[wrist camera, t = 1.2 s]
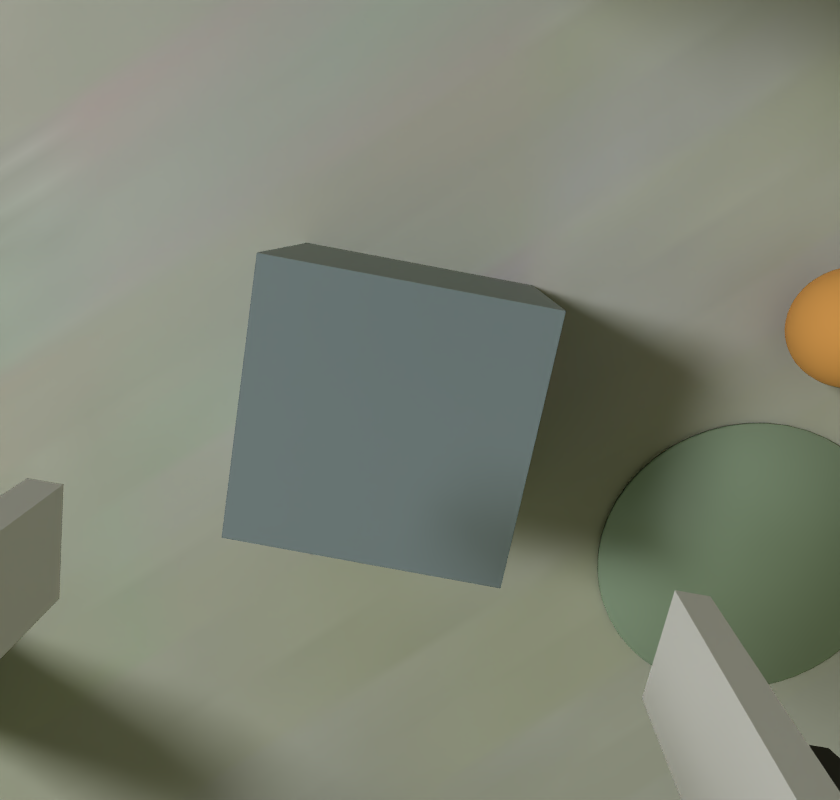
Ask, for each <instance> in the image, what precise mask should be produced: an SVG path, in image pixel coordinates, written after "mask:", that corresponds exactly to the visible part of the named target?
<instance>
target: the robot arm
mask: <svg viewBox="0 0 840 800" xmlns="http://www.w3.org/2000/svg"><path fill="white" fill-rule="evenodd" d="M62 509H63V484H58V483H53V482H47V481H41V480H35V479H29V478H27V479H25V480H24V481H22V482H21V483H19V484H18V485H16V486H15V487H13V488H12V489H10V490H9V491H7V492H6V493H4V494H3V495H1V496H0V659H1V658H2V657H3V656H4V655H5V654H6V653H7V652H8V651H9V649H10V648H11V647H12V646H13V645H14V644H15V643H16V642H17V641H18V640H19V639H20V638H21V637H22V636H23V635H24V634H25V633H26V632H27V631H28V630H29V629H30V628H31V627H32V626H33V625H34V624H35V623H36V622H37V621H38V620H39V619H40V618H41V617H42V616H43V615H44V614H45V613H46V612H47V611H48V610H49V609H50V608H51V606H52V605H53V604H54V603H55V602H56V601H57V600H58V599H59V592H60V564H61V536H62ZM642 700H643V702H644V705H645V707H646V710H647V712H648V715H649V718H650V720H651V723H652V725H653V728H654V730H655V733H656V736H657V738H658V741H659V743H660V746H661V748H662V751H663V754H664V756H665V759H666V761H667V764H668V766H669V769H670V771H671V774H672V777H673V779H674V782H675V784H676V787H677V789H678V792H679V795H680V797H681V800H840V758H839V757H838V756H837V755H836V754H834V753H833V752H832V751H831V750H830V749H829V748H824V747H818V746H812V745H808V743H807V742H806V740H805V739H804V737H803V736H802V734H801V733H800V731H799V730H798V728H797V727H796V725H795V724H794V722H793V721H792V719H791V717H790V716H789V714H788V713H787V711H786V710H785V708H784V707H783V705H782V704H781V702H780V701H779V699H778V698H777V696H776V695H775V693H774V692H773V690H772V689H771V687H770V686H769V684H768V683H767V681H766V680H765V678H764V677H763V675H762V674H761V672H760V671H759V669H758V668H757V666H756V665H755V663H754V662H753V660H752V659H751V657H750V656H749V654H748V653H747V651H746V650H745V648H744V647H743V645H742V644H741V642H740V640H739V639H738V637H737V636H736V634H735V633H734V631H733V630H732V628H731V627H730V625H729V624H728V622H727V621H726V619H725V618H724V616H723V615H722V613H721V612H720V610H719V609H718V607H717V606H716V604H715V603H714V601H713V600H712V598H711V597H710V596H706V595H700V594H694V593H688V592H683V591H677V590H675V591H674V595H673V598H672V601H671V605H670V608H669V611H668V614H667V618H666V621H665V624H664V628H663V631H662V634H661V638H660V641H659V644H658V647H657V651H656V654H655V657H654V661H653V664H652V667H651V671H650V674H649V677H648V680H647V684H646V687H645V690H644V694H643V697H642Z"/></svg>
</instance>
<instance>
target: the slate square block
mask: <svg viewBox="0 0 840 800" xmlns="http://www.w3.org/2000/svg"><path fill="white" fill-rule="evenodd" d="M565 313H566V311H565V310H564V309H563V308H561V307H560V306H559V305H557V304H556V303H555V302H554V301H552V300H551V299H550V298H548V297H547V296H546V295H544V294H543V293H542V292H541V291H539V290H538V289H537V288H535V287H534V286H532V285H527V284H522V283H516V282H511V281H506V280H500V279H495V278H490V277H485V276H479V275H474V274H469V273H463V272H458V271H453V270H448V269H442V268H437V267H432V266H426V265H421V264H416V263H411V262H405V261H400V260H395V259H389V258H384V257H379V256H374V255H368V254H363V253H358V252H352V251H347V250H342V249H337V248H331V247H326V246H321V245H315V244H310V243H304V244H299V245H294V246H289V247H283V248H278V249H273V250H268V251H263V252H258V253H257V256H256V264H255V272H254V280H253V288H252V296H251V304H250V313H249V321H248V329H247V337H246V345H245V353H244V361H243V369H242V377H241V385H240V394H239V402H238V410H237V418H236V426H235V434H234V442H233V450H232V458H231V466H230V474H229V483H228V491H227V499H226V507H225V515H224V523H223V531H222V538H227V539H232V540H238V541H243V542H249V543H254V544H260V545H265V546H271V547H276V548H282V549H287V550H293V551H298V552H304V553H309V554H315V555H320V556H326V557H331V558H337V559H342V560H348V561H353V562H359V563H364V564H370V565H375V566H381V567H386V568H392V569H397V570H403V571H408V572H414V573H419V574H425V575H430V576H436V577H441V578H447V579H452V580H458V581H463V582H468V583H474V584H479V585H485V586H490V587H496V588H501V584H502V580H503V575H504V571H505V567H506V563H507V558H508V554H509V550H510V546H511V541H512V537H513V533H514V529H515V525H516V520H517V516H518V512H519V508H520V503H521V499H522V495H523V491H524V486H525V482H526V478H527V474H528V470H529V465H530V461H531V457H532V453H533V448H534V444H535V440H536V436H537V431H538V427H539V423H540V419H541V415H542V410H543V406H544V402H545V398H546V393H547V389H548V385H549V381H550V376H551V372H552V368H553V364H554V360H555V355H556V351H557V347H558V343H559V338H560V334H561V330H562V326H563V321H564V317H565Z"/></svg>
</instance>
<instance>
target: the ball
mask: <svg viewBox="0 0 840 800" xmlns="http://www.w3.org/2000/svg"><path fill="white" fill-rule="evenodd" d="M785 338H786V343H787V347H788V349H789V352H790V354H791V356H792V358H793V359H794V361H795V362H796V364H797V365H798V366H799V367H800V368H801V369H802V370H803V371H804V372H805V373H807V374H808V375H809V376H811V377H812V378H814V379H816V380H818V381H819V382H822V383H824V384H827V385H830V386H834V387H839V388H840V269H837V270H833V271H830V272H828V273H825V274H823V275H822V276H820V277H818V278H816V279H815V280H813V281H812V282H810V283H809V284H808V285H807V286H806V287H805V288H803V289H802V291H801V292H800V293H799V294H798V295H797V297H796V298H795V300H794V301H793V303H792V305H791V307H790V309H789V312H788V314H787V318H786V323H785Z"/></svg>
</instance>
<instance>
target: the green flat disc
mask: <svg viewBox="0 0 840 800" xmlns="http://www.w3.org/2000/svg"><path fill="white" fill-rule="evenodd" d="M597 570H598V580H599V588H600V592H601V596H602V600H603V603H604V606H605V608H606V611H607V613H608V616H609V618H610V620H611V622H612V623H613V625H614V627H615V629H616V630H617V632H618V634H619V635H620V636H621V637H622V639H623V640H624V641H625V642H626V644H627V645H628V646H629V647H630V648H631V649H632V650H633V651H634V652H635V653H636V654H637V655H639V656H640V657H641V658H642V659H643V660H645V661H646V662H648V663H649V664H650V665H652V664H653V661H654V657H655V654H656V651H657V647H658V644H659V641H660V638H661V634H662V631H663V628H664V624H665V621H666V618H667V614H668V611H669V608H670V605H671V601H672V598H673V595H674V591H675V590H677V591H683V592H688V593H694V594H700V595H706V596H710V597H711V598H712V600H713V601H714V603H715V604H716V606H717V607H718V609H719V610H720V612H721V613H722V615H723V616H724V618H725V619H726V621H727V622H728V624H729V625H730V627H731V628H732V630H733V631H734V633H735V634H736V636H737V637H738V639H739V640H740V642H741V644H742V645H743V647H744V648H745V650H746V651H747V653H748V654H749V656H750V657H751V659H752V660H753V662H754V663H755V665H756V666H757V668H758V669H759V671H760V672H761V674H762V675H763V677H764V678H765V680H766V681H767V683H768V684H771V683H776V682H779V681H782V680H785V679H788V678H791V677H794V676H796V675H799V674H801V673H803V672H805V671H807V670H809V669H812V668H813V667H815V666H817V665H818V664H820V663H822V662H823V661H825V660H827V659H828V658H829V657H831V656H832V655H833V654H835V653H836V652H837V651H839V650H840V447H839V446H838V445H836V444H834V443H833V442H831V441H829V440H827V439H826V438H824V437H822V436H819V435H817V434H814V433H812V432H809V431H807V430H803V429H799V428H795V427H792V426H788V425H780V424H772V423H744V424H736V425H728V426H724V427H720V428H716V429H712V430H708V431H705V432H703V433H700V434H697V435H695V436H692V437H690V438H687V439H685V440H684V441H682V442H680V443H678V444H676V445H674V446H672V447H670V448H669V449H667V450H666V451H664V452H663V453H662V454H660V455H659V456H657V457H656V458H654V459H653V460H652V461H651V462H650V463H649V464H647V465H646V466H645V467H644V468H643V469H642V470H641V471H639V473H638V474H637V475H636V476H635V477H634V478H633V479H632V480H631V482H630V483H629V484H628V485H627V486H626V488H625V489H624V491H623V492H622V493H621V495H620V496H619V498H618V499H617V501H616V502H615V504H614V506H613V508H612V510H611V512H610V514H609V516H608V518H607V521H606V524H605V527H604V530H603V533H602V536H601V541H600V546H599V551H598V568H597Z"/></svg>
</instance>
